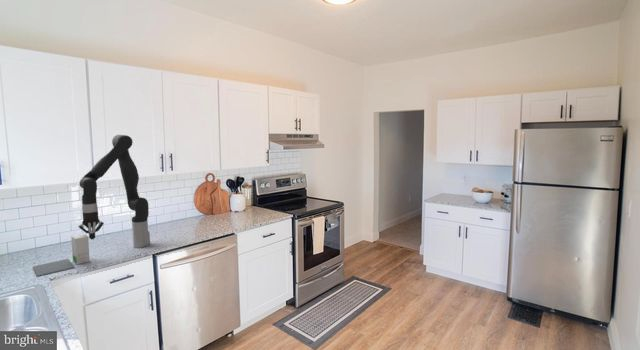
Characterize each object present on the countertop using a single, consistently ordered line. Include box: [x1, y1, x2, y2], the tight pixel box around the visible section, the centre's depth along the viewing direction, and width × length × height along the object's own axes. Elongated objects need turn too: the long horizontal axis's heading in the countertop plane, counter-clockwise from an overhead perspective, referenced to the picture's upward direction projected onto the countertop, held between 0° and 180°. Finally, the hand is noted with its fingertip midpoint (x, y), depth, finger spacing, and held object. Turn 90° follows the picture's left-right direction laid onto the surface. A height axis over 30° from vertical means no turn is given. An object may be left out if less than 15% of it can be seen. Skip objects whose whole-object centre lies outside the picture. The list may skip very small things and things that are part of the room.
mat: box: [32, 258, 75, 278], centre depth 183 cm, size 16×18×1 cm
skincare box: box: [70, 233, 91, 265], centre depth 191 cm, size 8×7×16 cm
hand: (92, 239), depth 195 cm, fingers closed
